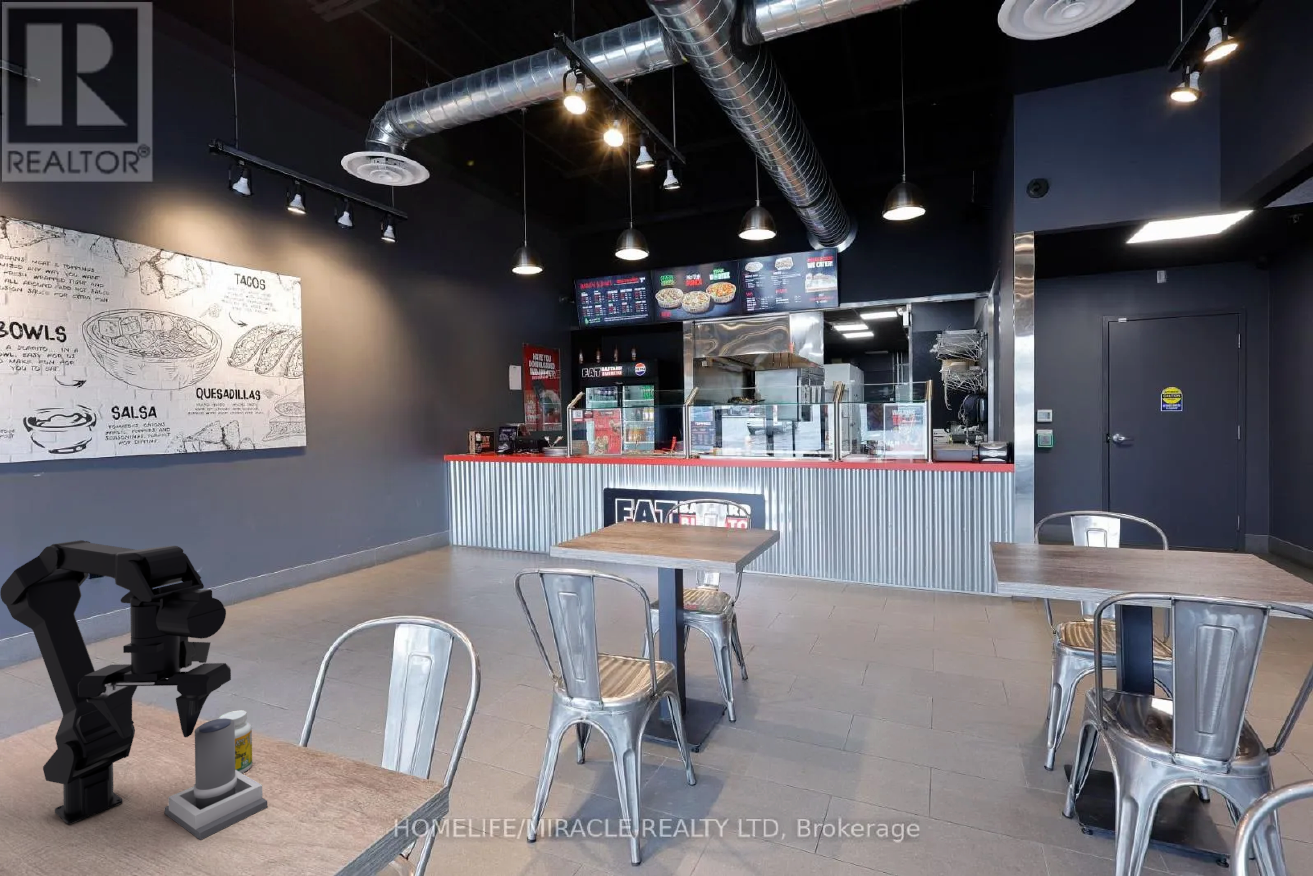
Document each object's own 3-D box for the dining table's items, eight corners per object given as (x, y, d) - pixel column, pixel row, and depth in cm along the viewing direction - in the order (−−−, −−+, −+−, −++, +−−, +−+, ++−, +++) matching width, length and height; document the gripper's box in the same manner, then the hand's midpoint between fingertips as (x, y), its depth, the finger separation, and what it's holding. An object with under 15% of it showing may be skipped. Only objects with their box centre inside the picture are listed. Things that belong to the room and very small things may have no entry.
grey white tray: (164, 813, 93) (164, 794, 93) (230, 784, 101) (229, 766, 101) (200, 840, 87) (200, 819, 87) (267, 807, 95) (267, 788, 95)
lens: (187, 807, 93) (186, 727, 93) (227, 789, 98) (226, 713, 98) (203, 818, 90) (202, 736, 90) (243, 800, 95) (242, 721, 95)
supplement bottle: (252, 758, 109) (251, 705, 109) (252, 772, 105) (251, 716, 105) (215, 768, 106) (214, 713, 106) (213, 782, 102) (213, 725, 102)
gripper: (253, 615, 99) (255, 711, 99) (138, 617, 99) (140, 713, 99) (203, 638, 88) (204, 746, 88) (73, 640, 88) (75, 748, 88)
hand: (157, 736), depth 91 cm, fingers open, 9 cm apart
